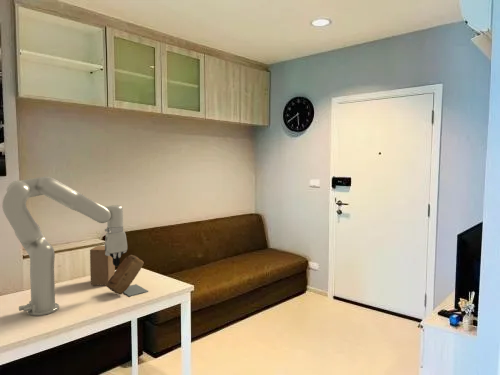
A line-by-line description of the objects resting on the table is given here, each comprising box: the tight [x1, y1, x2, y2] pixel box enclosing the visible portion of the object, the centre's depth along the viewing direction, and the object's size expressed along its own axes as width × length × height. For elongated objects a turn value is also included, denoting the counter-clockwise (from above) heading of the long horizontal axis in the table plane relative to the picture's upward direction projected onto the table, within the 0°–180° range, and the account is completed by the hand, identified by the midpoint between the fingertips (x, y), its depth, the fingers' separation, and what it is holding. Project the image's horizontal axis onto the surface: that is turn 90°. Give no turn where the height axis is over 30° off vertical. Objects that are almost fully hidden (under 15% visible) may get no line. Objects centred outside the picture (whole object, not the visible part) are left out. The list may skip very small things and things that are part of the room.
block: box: [105, 254, 145, 295], centre depth 191 cm, size 11×8×20 cm
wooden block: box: [89, 245, 116, 286], centre depth 205 cm, size 10×10×20 cm
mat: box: [122, 283, 149, 298], centre depth 193 cm, size 10×14×1 cm
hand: (116, 265), depth 186 cm, fingers closed
